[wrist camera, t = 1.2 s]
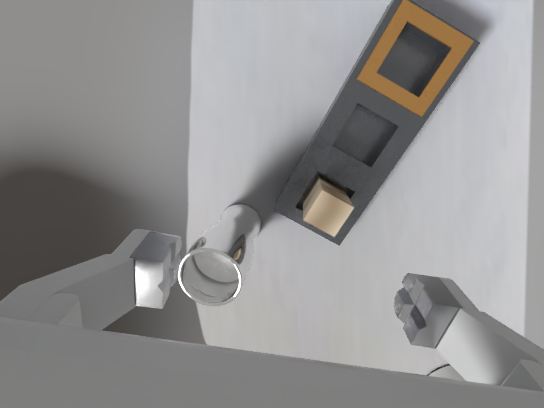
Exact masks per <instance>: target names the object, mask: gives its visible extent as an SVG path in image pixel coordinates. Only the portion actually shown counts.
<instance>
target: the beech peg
mask: <svg viewBox="0 0 544 408" xmlns="http://www.w3.org/2000/svg"><path fill="white" fill-rule="evenodd" d="M353 209H354V206H353V204H352V203H351V201H350V199H349V197H348V195H347V194H346V192H345V190H344V189H343V188H341V187H339V186H338V185H336V184H334V183H332V182H330V181H329V180H327V179H325V178H323V177H321V176H320V175H318V176H317V177H316V179H315V181H314V182H313V184H312V186H311V187H310V189H309V191H308V192H307V194H306V196H305V197H304V199H303V220H304V221H306V222H307V223H309V224H311V225H313V226H315V227H317V228H318V229H320V230H322V231H324V232H326V233H328V234H330V235H331V236H333V237H335V236H336V234H337V233H338V231H339V230H340V228H341V227H342V225H343V224H344V222H345V221H346V219H347V218H348V216H349V215H350V213H351V212H352V210H353Z"/></svg>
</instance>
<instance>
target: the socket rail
mask: <svg viewBox="0 0 544 408" xmlns="http://www.w3.org/2000/svg"><path fill="white" fill-rule="evenodd" d="M479 44H480V42H478V41H476V40H475V39H473V38H471V37H470V36H468V35H466V34H465V33H463V32H461V31H460V30H458V29H457V28H455V27H453V26H452V25H450V24H448V23H447V22H445V21H443V20H442V19H440V18H439V17H437V16H435V15H434V14H432V13H430V12H429V11H427V10H425V9H424V8H422V7H420V6H419V5H417V4H416V3H414V2H412V1H411V0H392V1H391V3H390V4H389V5H388V7H387V9H386V10H385V12H384V14H383V16H382V17H381V19H380V21H379V23H378V24H377V26H376V28H375V30H374V31H373V33H372V35H371V37H370V38H369V40H368V42H367V44H366V45H365V47H364V49H363V51H362V52H361V54H360V56H359V58H358V59H357V61H356V63H355V65H354V66H353V68H352V70H351V72H350V73H349V75H348V77H347V79H346V80H345V82H344V84H343V86H342V87H341V89H340V91H339V93H338V94H337V96H336V98H335V100H334V101H333V103H332V105H331V107H330V108H329V110H328V112H327V114H326V115H325V117H324V119H323V121H322V122H321V124H320V126H319V128H318V129H317V131H316V133H315V135H314V136H313V138H312V140H311V142H310V143H309V145H308V147H307V149H306V150H305V152H304V154H303V156H302V157H301V159H300V161H299V163H298V164H297V166H296V168H295V170H294V171H293V173H292V175H291V177H290V178H289V180H288V182H287V184H286V185H285V187H284V189H283V191H282V192H281V194H280V196H279V198H278V199H277V201H276V204H275V207H274V210H275V211H276V212H278V213H280V214H282V215H284V216H286V217H288V218H289V219H291V220H293V221H295V222H297V223H299V224H300V225H302V226H304V227H306V228H308V229H310V230H312V231H313V232H315V233H317V234H319V235H321V236H323V237H324V238H326V239H328V240H330V241H332V242H334V243H336V244H337V245H340V244H341V242H342V241H343V240H344V238H345V237H346V235H347V234H348V232H349V231H350V230H351V228H352V227H353V225H354V224H355V222H356V221H357V219H358V218H359V217H360V215H361V214H362V212H363V211H364V209H365V208H366V206H367V205H368V204H369V202H370V201H371V199H372V198H373V196H374V195H375V194H376V192H377V191H378V189H379V188H380V186H381V185H382V183H383V182H384V181H385V179H386V178H387V176H388V175H389V173H390V172H391V170H392V169H393V168H394V166H395V165H396V163H397V162H398V160H399V159H400V158H401V156H402V155H403V153H404V152H405V150H406V149H407V147H408V146H409V145H410V143H411V142H412V140H413V139H414V137H415V136H416V134H417V133H418V132H419V130H420V129H421V127H422V126H423V124H424V123H425V122H426V120H427V119H428V117H429V116H430V114H431V113H432V111H433V110H434V109H435V107H436V106H437V104H438V103H439V101H440V100H441V98H442V97H443V96H444V94H445V93H446V91H447V90H448V88H449V87H450V86H451V84H452V83H453V81H454V80H455V78H456V77H457V75H458V74H459V73H460V71H461V70H462V68H463V67H464V65H465V64H466V62H467V61H468V60H469V58H470V57H471V55H472V54H473V52H474V51H475V49H476V48H477V47H478V45H479ZM318 175H320V176H321V177H323V178H325V179H327V180H329V181H330V182H332V183H334V184H336V185H338V186H339V187H341V188H343V189H344V190H345V192H346V194H347V195H348V197H349V199H350V201H351V203H352V204H353V206H354V209H353V210H352V212H351V213H350V215H349V216H348V218H347V219H346V221H345V222H344V224H343V225H342V227H341V228H340V230H339V231H338V233H337V234H336V236H335V237H333V236H331V235H330V234H328V233H326V232H324V231H322V230H320V229H318V228H317V227H315V226H313V225H311V224H309V223H307V222H306V221H304V220H303V199H304V197H305V196H306V194H307V192H308V191H309V189H310V187H311V186H312V184H313V182H314V181H315V179H316V177H317V176H318Z"/></svg>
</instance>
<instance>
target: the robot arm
mask: <svg viewBox="0 0 544 408" xmlns="http://www.w3.org/2000/svg"><path fill="white" fill-rule="evenodd" d="M180 249H181V237H180V236H175V235H170V234H164V233H159V232H153V231H152V232H151V231H147V230H140V229H135V230H133V232H132V233H131V234H130V235H129V236H128V237H127V238H126V239H125V240H124V241H123V242H122V243H121V244H120V246H119V247H118V248H117V249H116V250H115V251H114V252H113V253H112V254H111V255H109V254H105V255H102V256H100V257H97V258H94V259H91V260H89V261H86V262H83V263H80V264H78V265H75V266H72V267H69V268H67V269H64V270H61V271H58V272H56V273H53V274H50V275H47V276H44V277H42V278H39V279H36V280H34V281H31V282H28V283H25V284H23V285H20V286H19V287H17V288H16V289H15V290H14V291H13V292H11V293H10V294H9V295H8V296H6V297H5V298H4V299H3V300H2V301H1V302H0V408H544V350H543V349H542V348H540V347H539V346H537V345H535V344H534V343H532V342H531V341H529V340H527V339H526V338H524V337H523V336H521V335H520V334H518V333H516V332H515V331H513V330H512V329H510V328H508V327H507V326H505V325H504V324H502V323H500V322H499V321H497V320H496V319H494V318H493V317H491V316H489V315H488V314H486V313H485V312H481V311H479V310H478V309H477V308H476V307H475V305H474V304H473V303H472V302H471V301H470V300H469V298H468V297H467V296H466V295H465V294H464V293H463V291H462V290H461V289H460V288H459V287H458V286H457V284H456V283H455V282H454V281H453V280H451V279H449V278H442V277H432V276H425V275H418V274H411V273H408V274H407V275H406V276H405V277H404V279H403V281H402V283H403V286H404V288H402V289H401V290H399V291H398V292H397V294H396V296H395V300H394V308H395V313H396V315H397V317H398V318H399V319H400V320H401V321H402V322H403V323H405V324H404V327H403V329H404V331H405V333H406V335H407V337H408V339H409V341H410V343H411V345H417V346H423V347H429V348H434V349H436V351H437V352H438V353H439V354H440V355H441V356H442V357H443V358H444V359H445V360H446V361H447V362H448V363H449V364H450V366H446V367H443V368H441V369H438V370H436V371H434V372H433V373H431V374H430V375H428V376H426V375H419V374H411V373H404V372H397V371H390V370H382V369H375V368H368V367H361V366H354V365H347V364H339V363H332V362H325V361H318V360H311V359H304V358H296V357H289V356H282V355H275V354H267V353H260V352H253V351H246V350H238V349H231V348H224V347H216V346H209V345H202V344H194V343H187V342H180V341H172V340H165V339H158V338H151V337H144V336H136V335H130V334H122V333H116V332H108V331H101V330H102V329H104V328H105V327H107V326H108V325H109V324H111V323H112V322H114V321H115V320H116V319H118V318H119V317H121V316H122V315H124V314H125V313H127V312H128V311H130V310H131V309H132V308H134V307H135V305H136V306H144V307H153V308H163V306H164V304H165V302H166V300H167V298H168V295H169V293H170V286H172V285H174V283H175V281H176V279H177V276H178V273H179V269H180V261H181V258H180V256H179V255H178V252H179V251H180Z"/></svg>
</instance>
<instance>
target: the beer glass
mask: <svg viewBox="0 0 544 408" xmlns="http://www.w3.org/2000/svg"><path fill="white" fill-rule="evenodd" d="M260 228H261V221H260V218H259V216H258V214H257V212H256V211H255V210H254V209H253V208H251V207H249V206H247V205H244V204H235V205H232V206H229V207H228V208H227V209H225V210H224V212H223V213H222V215H221V218H220V221H219V222H217V223H215V224H214V225H212V226H211V227H209V228H208V229H206V230H205V231H204V232H203V233H202V234H201V235H200V236H199V237H198V238H197V239H196V240H195V242H194V243H193V244H192V246H191V247H190V249H189V250H188V252H187V254H186V255H185V257H184V258H183V259H182V261H181V263H180V269H179V273H178V278H179V282H180V285H181V287H182V288H183V290H184V292H185V293H186V294H187V295H188V296H189V297H190V298H192V299H193V300H195V301H196V302H198V303H201V304H203V305H207V306H221V305H225V304H227V303H229V302H231V301H233V300H234V299H235V298H236V297H237V296H238V294H239V293H240V291H241V288H242V286H243V284H244V282H245V280H246V278H247V276H248V273H249V271H250V268H251V264H252V261H253V253H254V239H255V238H256V236H257V235H258V233H259V231H260Z"/></svg>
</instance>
